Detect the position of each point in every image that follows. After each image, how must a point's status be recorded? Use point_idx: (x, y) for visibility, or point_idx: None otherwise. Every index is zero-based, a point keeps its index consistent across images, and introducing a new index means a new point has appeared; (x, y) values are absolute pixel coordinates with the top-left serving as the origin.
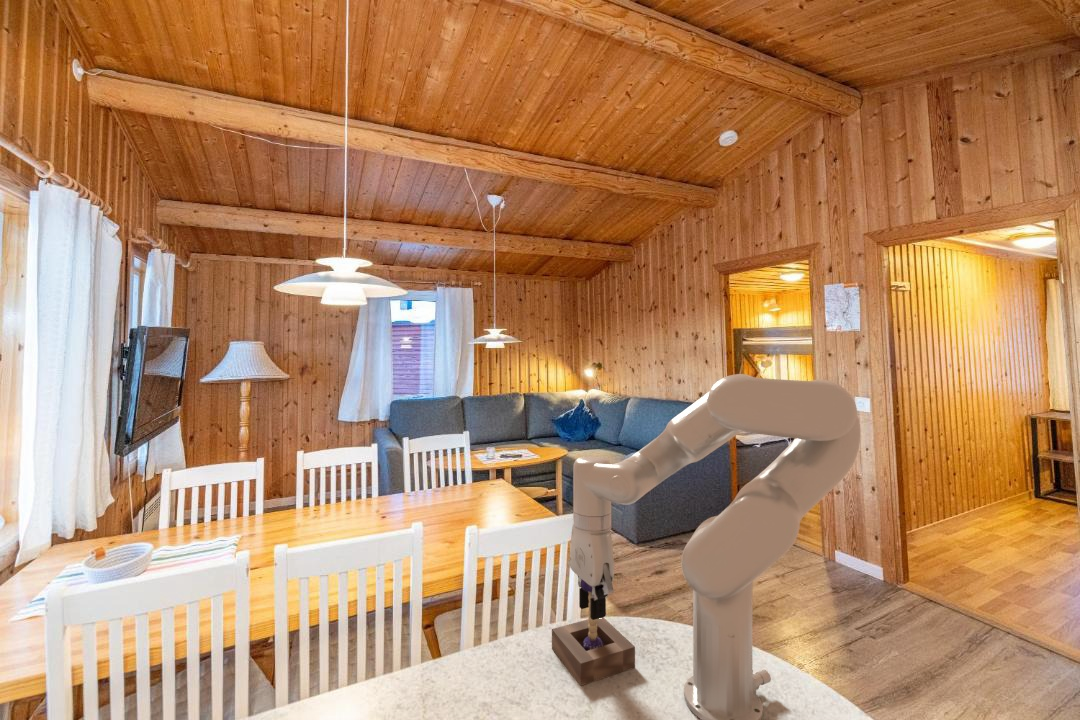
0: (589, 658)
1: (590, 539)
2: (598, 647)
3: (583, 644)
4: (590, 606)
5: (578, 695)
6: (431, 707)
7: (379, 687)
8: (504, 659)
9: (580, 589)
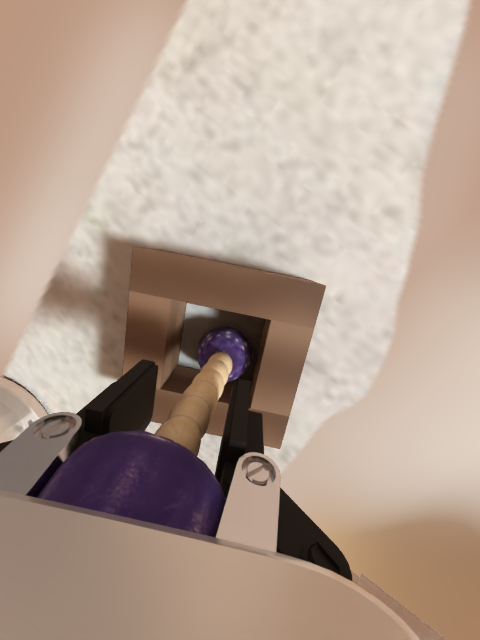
0: (139, 284)
1: None
2: (166, 339)
3: (234, 333)
4: (127, 385)
5: (135, 223)
6: None
7: None
8: (363, 133)
9: (231, 439)
